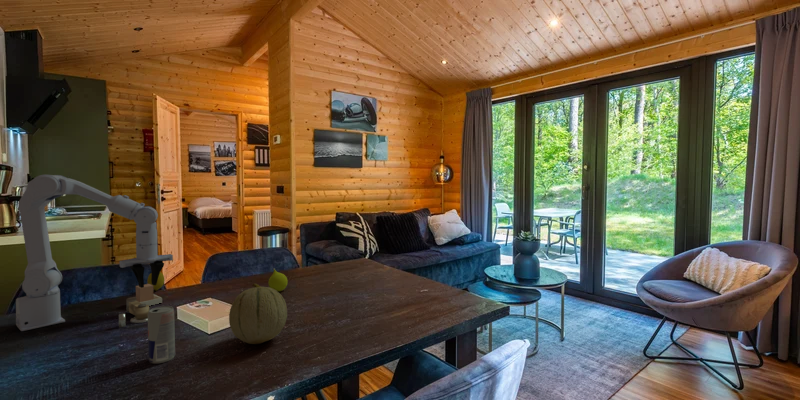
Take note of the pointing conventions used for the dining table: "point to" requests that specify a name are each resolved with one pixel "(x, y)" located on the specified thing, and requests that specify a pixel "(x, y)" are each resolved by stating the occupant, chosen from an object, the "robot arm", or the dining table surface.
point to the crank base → (123, 320)
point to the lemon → (159, 281)
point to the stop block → (144, 293)
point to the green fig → (278, 281)
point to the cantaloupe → (257, 314)
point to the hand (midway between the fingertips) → (147, 285)
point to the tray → (153, 301)
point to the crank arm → (137, 308)
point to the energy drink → (161, 334)
